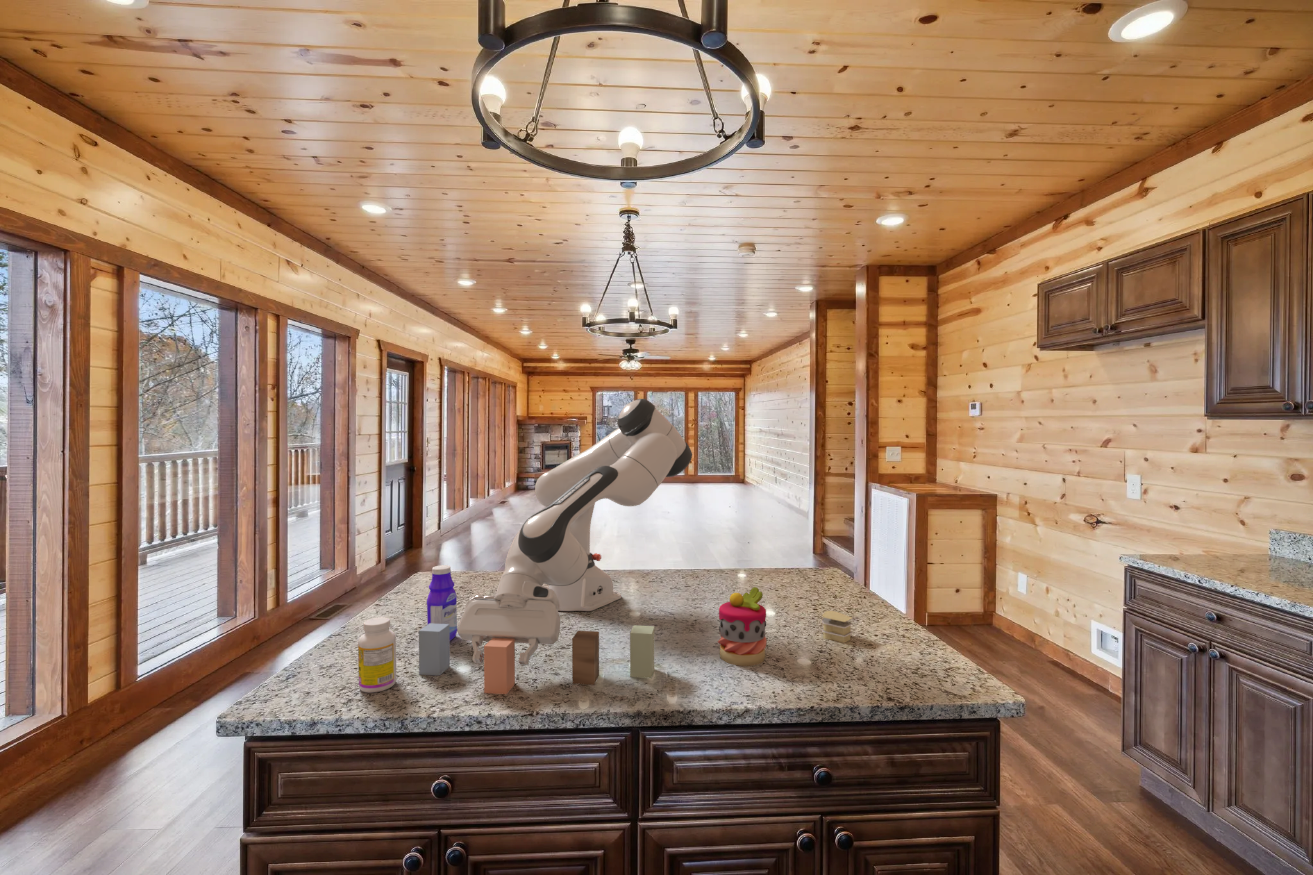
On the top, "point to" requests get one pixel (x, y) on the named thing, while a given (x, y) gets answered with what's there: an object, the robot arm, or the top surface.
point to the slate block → (434, 649)
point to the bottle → (442, 599)
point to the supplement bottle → (377, 656)
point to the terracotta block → (499, 665)
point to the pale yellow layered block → (836, 626)
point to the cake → (743, 629)
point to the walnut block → (585, 657)
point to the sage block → (642, 651)
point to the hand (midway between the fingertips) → (499, 662)
